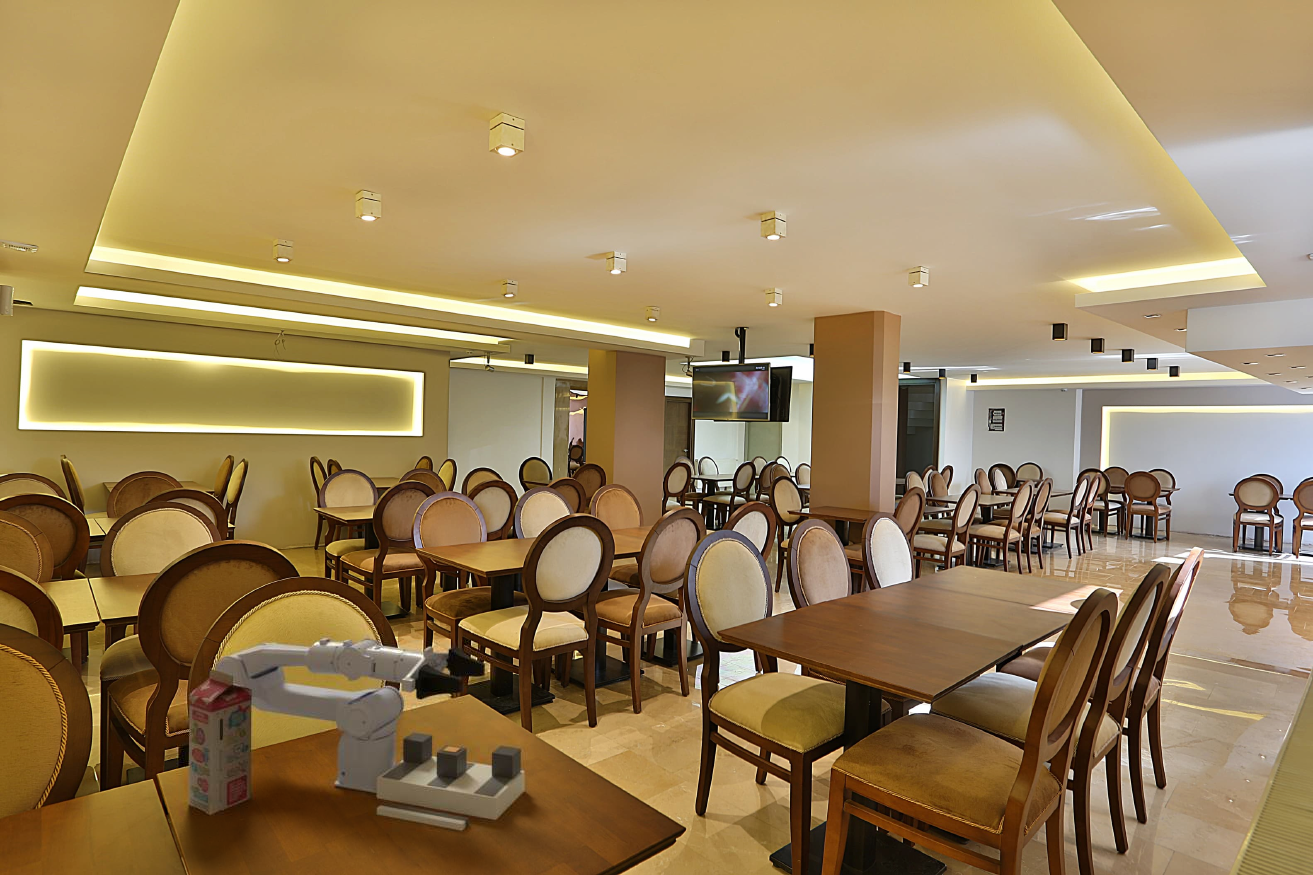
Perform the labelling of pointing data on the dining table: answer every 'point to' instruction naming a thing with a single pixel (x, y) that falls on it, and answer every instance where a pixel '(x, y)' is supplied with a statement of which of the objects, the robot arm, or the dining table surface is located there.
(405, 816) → the long grey stick
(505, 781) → the white panel with blocks
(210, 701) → the juice carton
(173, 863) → the dining table surface
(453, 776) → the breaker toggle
